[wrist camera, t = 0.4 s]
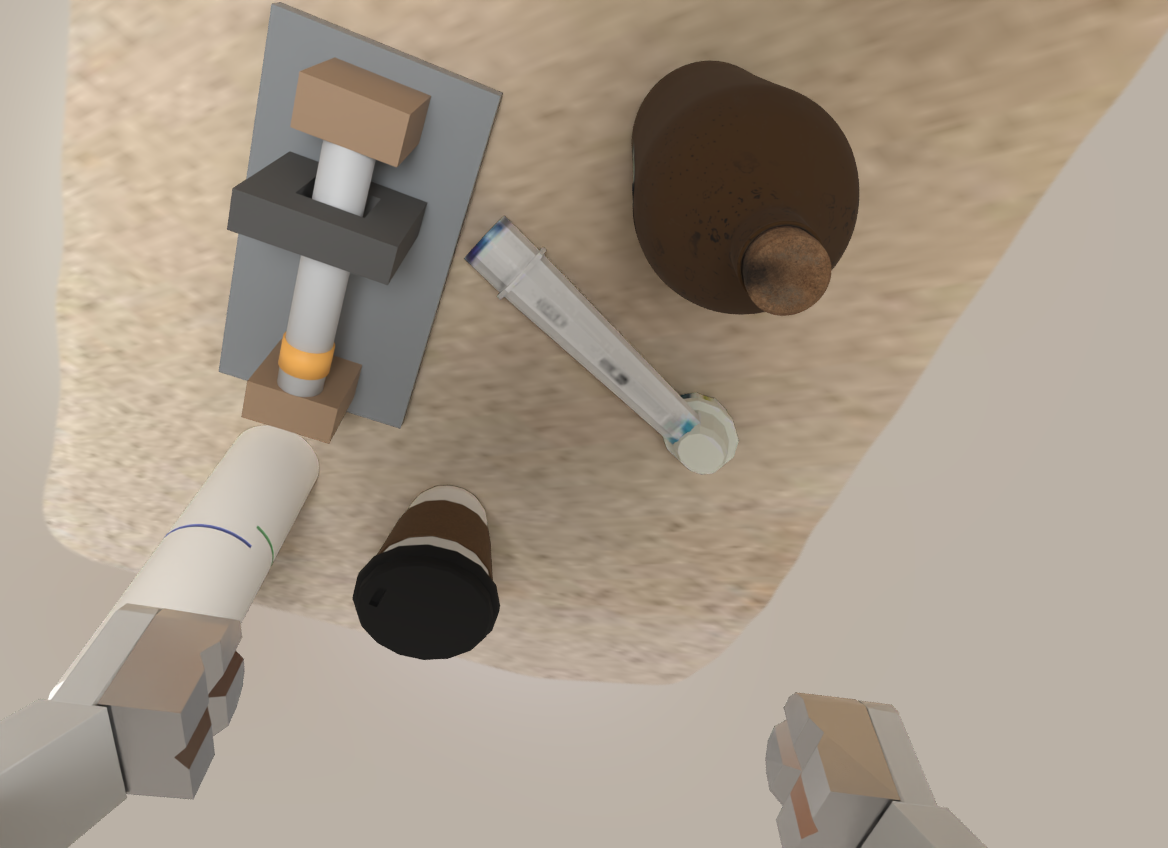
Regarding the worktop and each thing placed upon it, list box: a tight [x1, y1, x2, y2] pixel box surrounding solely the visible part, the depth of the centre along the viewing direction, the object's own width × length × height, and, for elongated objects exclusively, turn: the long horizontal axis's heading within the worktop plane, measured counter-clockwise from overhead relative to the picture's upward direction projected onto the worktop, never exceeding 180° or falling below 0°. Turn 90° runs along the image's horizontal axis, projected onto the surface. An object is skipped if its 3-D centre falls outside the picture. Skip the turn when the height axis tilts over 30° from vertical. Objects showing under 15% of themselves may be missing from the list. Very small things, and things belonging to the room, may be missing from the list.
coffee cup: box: [353, 485, 500, 660], centre depth 61 cm, size 11×11×12 cm
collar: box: [227, 151, 427, 285], centre depth 46 cm, size 2×9×9 cm, turn 69°
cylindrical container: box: [48, 425, 319, 700], centre depth 52 cm, size 7×7×25 cm
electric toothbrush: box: [464, 216, 739, 475], centre depth 55 cm, size 5×7×25 cm
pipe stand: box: [219, 2, 503, 444], centre depth 50 cm, size 26×14×8 cm, turn 159°
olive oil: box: [632, 61, 859, 316], centre depth 39 cm, size 11×11×25 cm
